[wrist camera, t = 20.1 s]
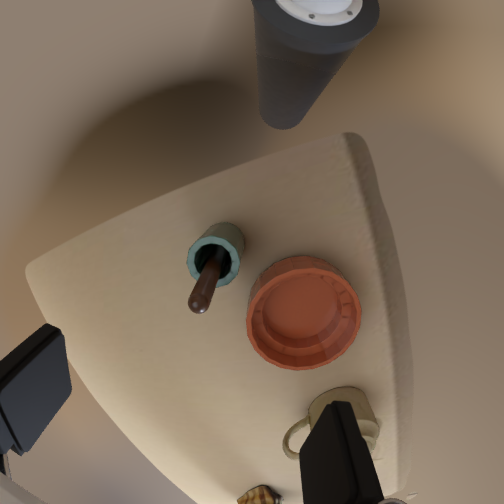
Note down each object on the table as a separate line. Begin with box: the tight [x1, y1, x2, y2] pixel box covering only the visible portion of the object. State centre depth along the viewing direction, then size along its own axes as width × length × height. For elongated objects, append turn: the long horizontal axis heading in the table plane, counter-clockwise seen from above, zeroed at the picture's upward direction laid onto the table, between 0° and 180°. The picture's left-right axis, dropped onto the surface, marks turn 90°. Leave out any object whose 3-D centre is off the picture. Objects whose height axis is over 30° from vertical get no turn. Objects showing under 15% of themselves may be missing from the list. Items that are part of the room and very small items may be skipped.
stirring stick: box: [188, 244, 228, 314], centre depth 30 cm, size 2×2×16 cm
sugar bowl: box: [283, 387, 379, 461], centre depth 38 cm, size 15×11×15 cm
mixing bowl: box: [246, 256, 361, 370], centre depth 37 cm, size 14×14×6 cm
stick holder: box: [187, 222, 245, 288], centre depth 34 cm, size 5×5×9 cm
